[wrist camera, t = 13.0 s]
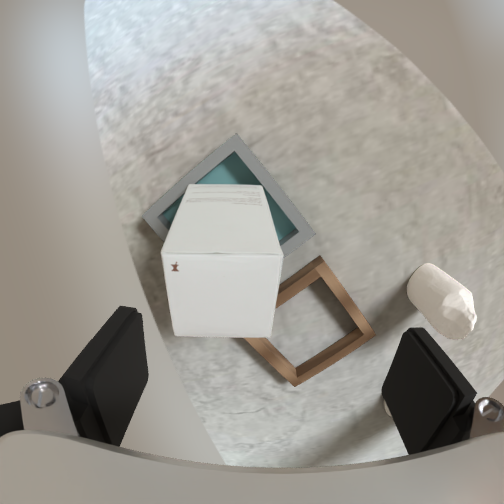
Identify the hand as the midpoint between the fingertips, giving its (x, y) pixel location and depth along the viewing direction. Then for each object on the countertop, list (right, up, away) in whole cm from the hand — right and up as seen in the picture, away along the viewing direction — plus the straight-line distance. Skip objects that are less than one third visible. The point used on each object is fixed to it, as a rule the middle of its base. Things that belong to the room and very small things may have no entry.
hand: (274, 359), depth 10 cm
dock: (-3, +7, +22) cm, 23 cm away
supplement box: (-3, +7, +20) cm, 22 cm away
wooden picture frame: (+6, -5, +26) cm, 27 cm away
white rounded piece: (+21, 0, +24) cm, 32 cm away
